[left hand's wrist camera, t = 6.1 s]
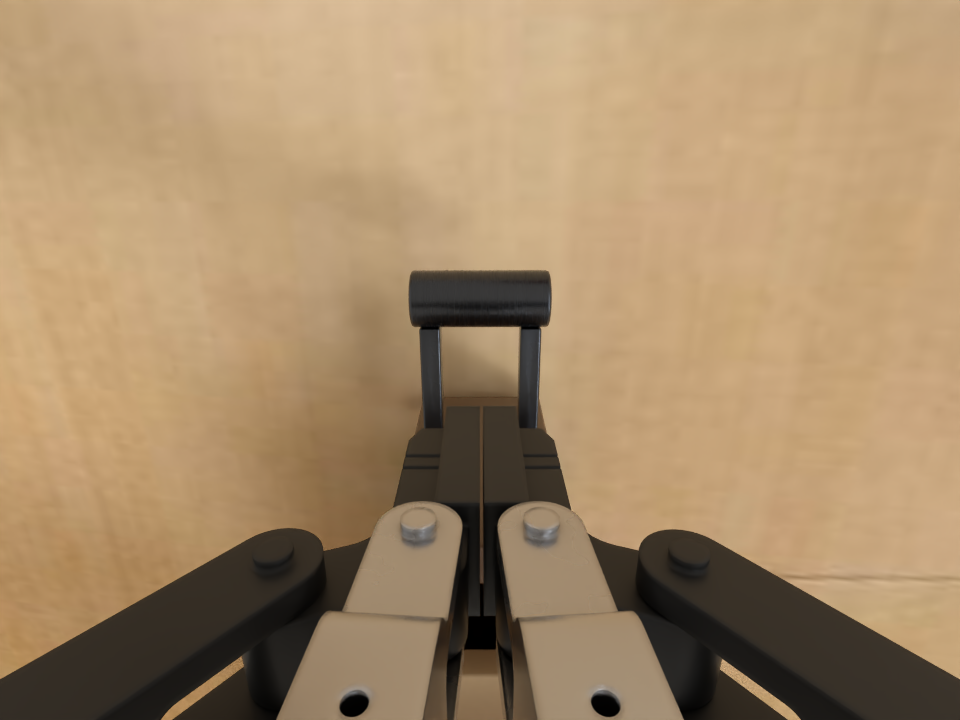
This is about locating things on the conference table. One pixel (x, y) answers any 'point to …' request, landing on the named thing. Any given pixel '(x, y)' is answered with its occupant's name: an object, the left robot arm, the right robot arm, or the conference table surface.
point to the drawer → (480, 305)
